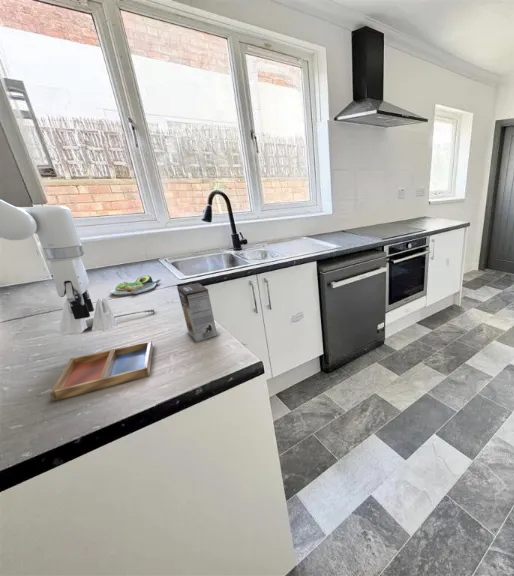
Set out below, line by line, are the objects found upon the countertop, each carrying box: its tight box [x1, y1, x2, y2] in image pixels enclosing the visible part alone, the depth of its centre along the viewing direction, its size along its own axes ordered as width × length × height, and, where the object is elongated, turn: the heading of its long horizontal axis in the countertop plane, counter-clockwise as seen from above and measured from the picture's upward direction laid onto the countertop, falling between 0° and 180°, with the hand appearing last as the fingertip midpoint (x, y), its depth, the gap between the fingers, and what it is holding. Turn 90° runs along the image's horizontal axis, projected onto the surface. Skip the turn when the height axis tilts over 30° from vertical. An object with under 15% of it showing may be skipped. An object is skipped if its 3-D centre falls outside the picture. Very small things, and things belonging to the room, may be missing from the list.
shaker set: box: [58, 296, 118, 336], centre depth 89 cm, size 12×4×11 cm, turn 125°
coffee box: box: [176, 282, 218, 343], centre depth 98 cm, size 9×6×16 cm
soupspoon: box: [85, 308, 155, 329], centre depth 110 cm, size 22×3×7 cm
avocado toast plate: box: [109, 274, 162, 297], centre depth 140 cm, size 19×18×5 cm
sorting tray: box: [49, 340, 154, 402], centre depth 81 cm, size 18×17×2 cm
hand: (84, 314), depth 89 cm, fingers closed on shaker set, 4 cm apart
